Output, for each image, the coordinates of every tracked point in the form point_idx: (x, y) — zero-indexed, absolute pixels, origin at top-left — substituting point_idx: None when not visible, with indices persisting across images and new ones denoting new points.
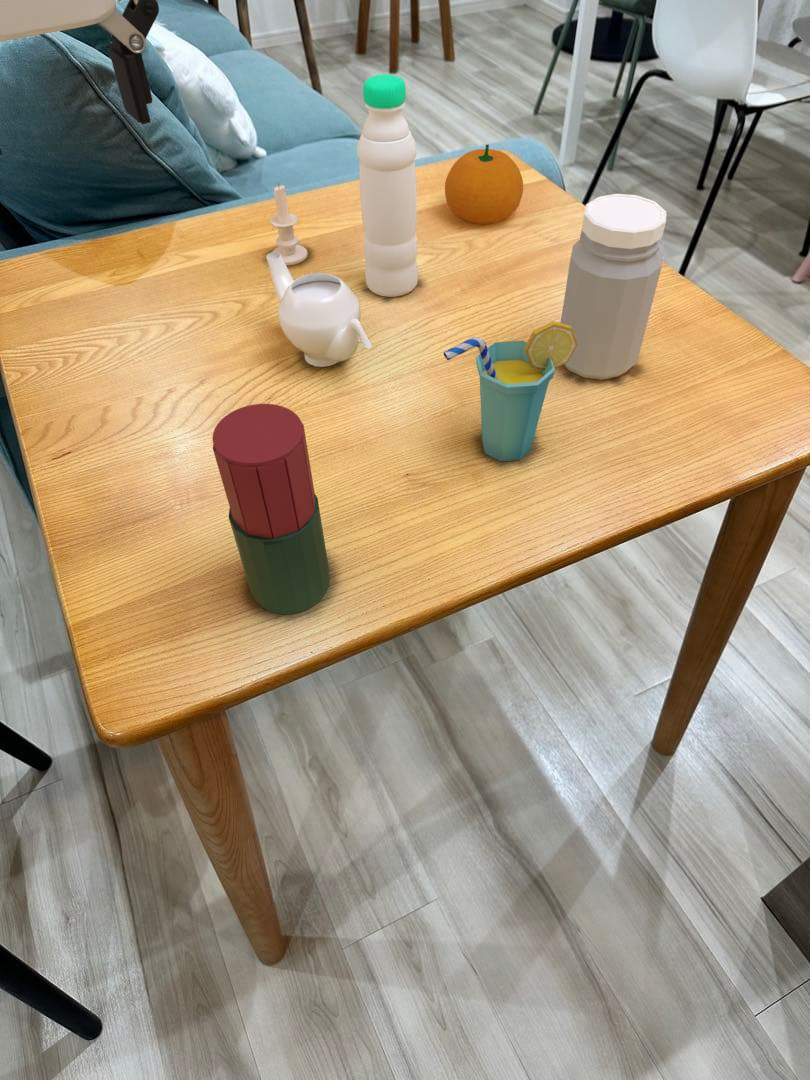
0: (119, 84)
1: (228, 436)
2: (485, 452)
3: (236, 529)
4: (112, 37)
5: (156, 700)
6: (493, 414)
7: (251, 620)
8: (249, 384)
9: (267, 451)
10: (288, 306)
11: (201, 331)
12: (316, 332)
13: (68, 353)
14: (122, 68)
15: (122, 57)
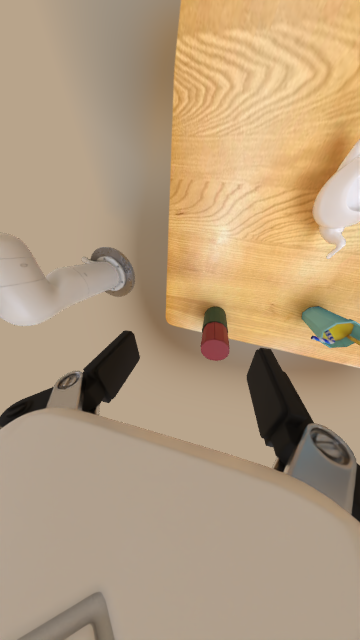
0: (263, 374)
1: (206, 347)
2: (302, 313)
3: (202, 331)
4: (290, 443)
5: (176, 322)
6: (312, 326)
7: (201, 318)
8: (273, 207)
9: (212, 357)
10: (334, 195)
11: (298, 107)
12: (323, 224)
13: (210, 81)
14: (261, 417)
15: (265, 437)
